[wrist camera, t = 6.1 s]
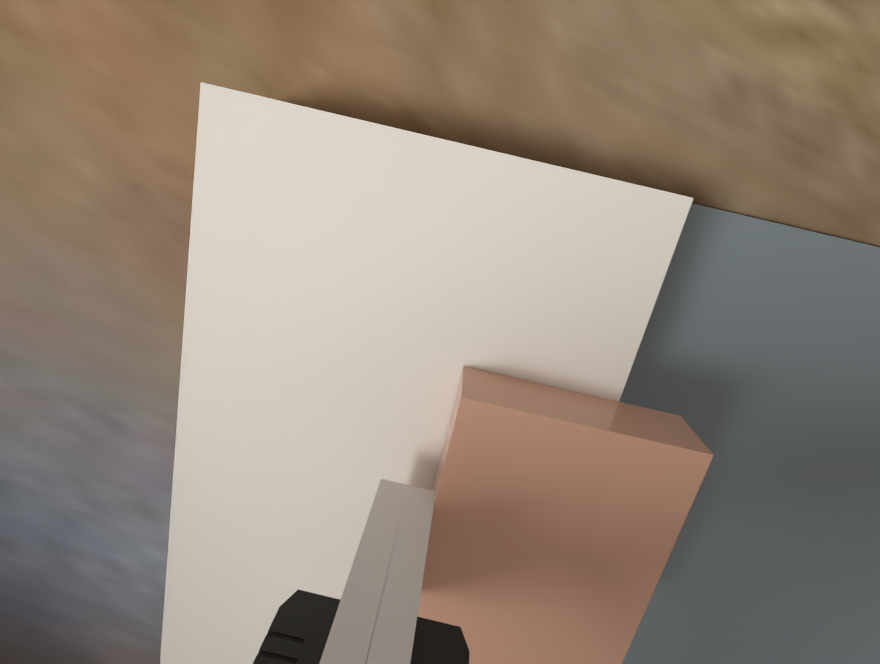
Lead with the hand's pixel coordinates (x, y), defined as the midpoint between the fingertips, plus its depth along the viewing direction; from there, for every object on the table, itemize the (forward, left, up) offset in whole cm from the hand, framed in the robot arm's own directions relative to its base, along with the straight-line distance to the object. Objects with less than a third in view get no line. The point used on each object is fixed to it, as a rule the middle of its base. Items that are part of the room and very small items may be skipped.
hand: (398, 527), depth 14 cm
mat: (0, -13, -5) cm, 14 cm away
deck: (0, +1, -5) cm, 5 cm away
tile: (0, -4, -1) cm, 4 cm away
